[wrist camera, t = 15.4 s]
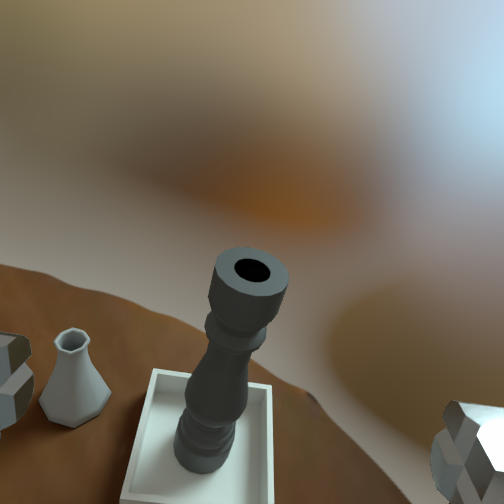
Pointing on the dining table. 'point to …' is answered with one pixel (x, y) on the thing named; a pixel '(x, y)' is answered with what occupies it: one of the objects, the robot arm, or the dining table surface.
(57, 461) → the dining table surface
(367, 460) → the dining table surface
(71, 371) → the flask
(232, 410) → the candle holder
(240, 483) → the box
